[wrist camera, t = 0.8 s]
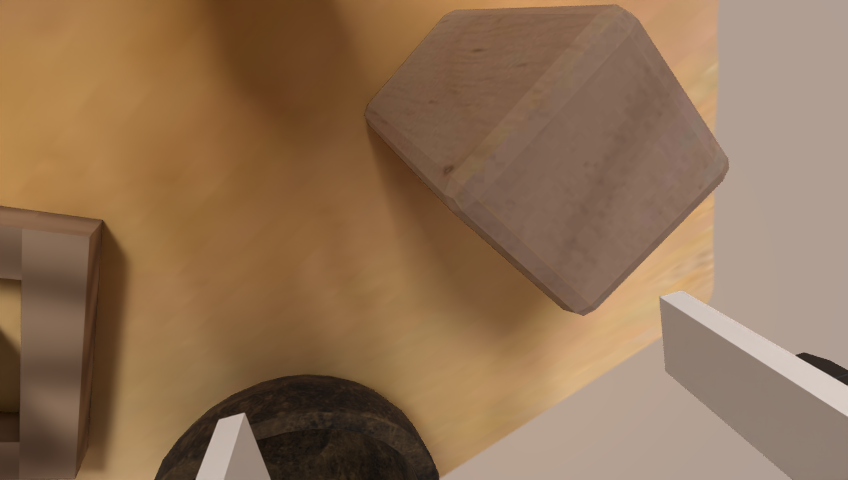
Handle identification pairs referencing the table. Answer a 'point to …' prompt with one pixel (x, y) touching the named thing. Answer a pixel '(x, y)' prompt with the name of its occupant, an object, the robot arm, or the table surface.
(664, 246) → the table surface
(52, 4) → the table surface
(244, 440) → the robot arm
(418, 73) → the wooden block
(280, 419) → the bowl
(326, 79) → the table surface
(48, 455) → the well board
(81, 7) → the table surface
